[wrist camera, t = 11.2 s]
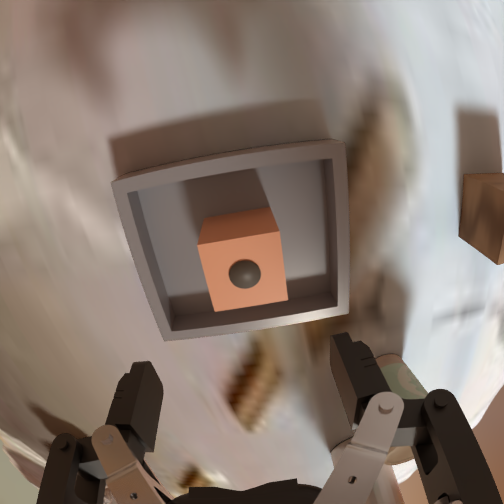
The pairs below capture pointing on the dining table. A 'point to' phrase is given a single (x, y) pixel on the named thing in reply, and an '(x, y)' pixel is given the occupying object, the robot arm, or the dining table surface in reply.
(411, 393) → the coffee cup
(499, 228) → the block
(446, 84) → the dining table surface
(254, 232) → the block
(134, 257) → the tray
